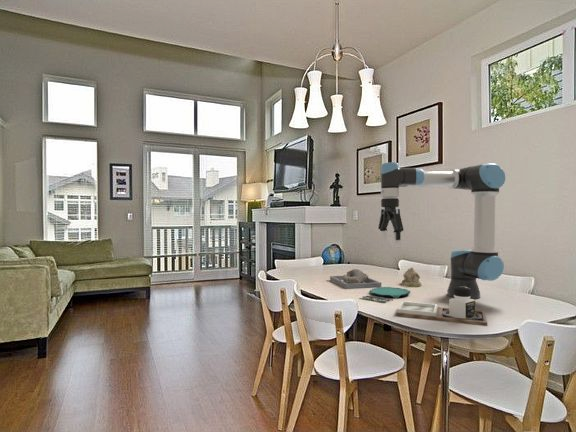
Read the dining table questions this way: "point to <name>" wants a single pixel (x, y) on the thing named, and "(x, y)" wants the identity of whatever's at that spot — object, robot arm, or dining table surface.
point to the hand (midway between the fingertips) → (390, 246)
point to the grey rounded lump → (354, 277)
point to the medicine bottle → (462, 304)
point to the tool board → (435, 313)
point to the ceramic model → (411, 278)
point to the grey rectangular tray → (358, 285)
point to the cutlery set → (386, 293)
